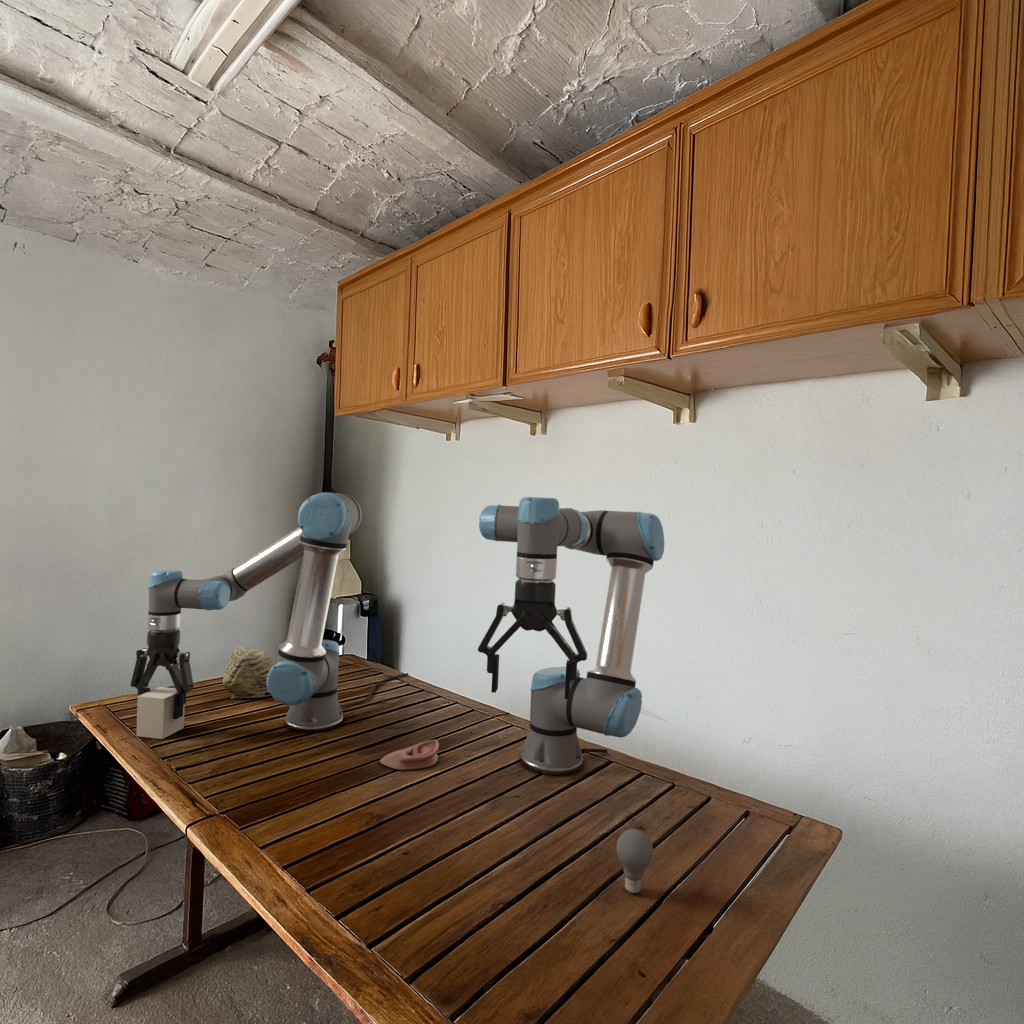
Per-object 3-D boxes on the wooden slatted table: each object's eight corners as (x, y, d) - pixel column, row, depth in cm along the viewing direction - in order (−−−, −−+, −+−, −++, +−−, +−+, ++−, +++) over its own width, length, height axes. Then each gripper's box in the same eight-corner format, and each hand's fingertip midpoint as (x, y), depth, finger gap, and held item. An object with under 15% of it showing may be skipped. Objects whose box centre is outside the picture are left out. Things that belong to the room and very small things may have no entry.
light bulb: (610, 879, 108) (613, 822, 108) (644, 879, 109) (647, 822, 109) (619, 902, 102) (622, 840, 102) (655, 901, 103) (658, 840, 103)
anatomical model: (374, 749, 149) (393, 732, 160) (374, 766, 149) (393, 748, 161) (428, 756, 147) (443, 739, 158) (427, 774, 147) (443, 754, 158)
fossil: (218, 695, 195) (220, 647, 195) (278, 685, 208) (279, 640, 207) (228, 703, 189) (230, 653, 188) (289, 692, 201) (290, 645, 201)
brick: (158, 725, 170) (160, 686, 169) (183, 727, 169) (185, 689, 168) (136, 736, 162) (137, 696, 161) (162, 739, 160) (163, 698, 160)
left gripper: (115, 629, 162) (112, 716, 163) (192, 635, 159) (189, 724, 160) (137, 624, 170) (134, 707, 170) (211, 630, 167) (208, 714, 167)
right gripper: (465, 578, 116) (460, 693, 116) (603, 587, 112) (597, 706, 112) (474, 573, 123) (469, 682, 123) (603, 581, 119) (598, 693, 120)
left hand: (161, 715), depth 165 cm, fingers open, 9 cm apart
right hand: (530, 693), depth 118 cm, fingers open, 13 cm apart
